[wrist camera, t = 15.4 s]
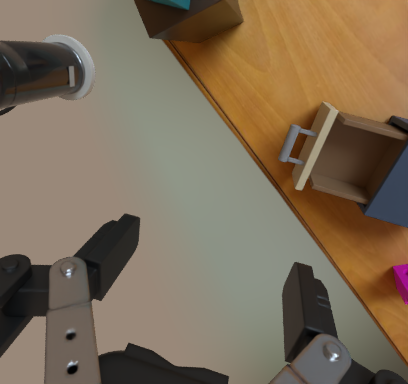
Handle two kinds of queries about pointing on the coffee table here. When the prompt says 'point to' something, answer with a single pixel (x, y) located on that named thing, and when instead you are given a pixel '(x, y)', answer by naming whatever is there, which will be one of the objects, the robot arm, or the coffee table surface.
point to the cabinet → (392, 188)
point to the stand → (189, 19)
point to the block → (175, 3)
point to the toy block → (402, 281)
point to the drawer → (344, 153)
